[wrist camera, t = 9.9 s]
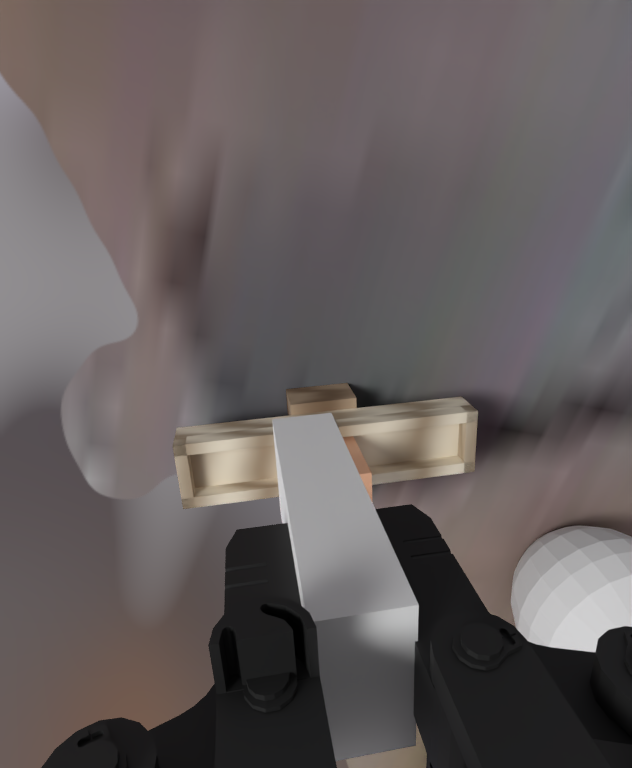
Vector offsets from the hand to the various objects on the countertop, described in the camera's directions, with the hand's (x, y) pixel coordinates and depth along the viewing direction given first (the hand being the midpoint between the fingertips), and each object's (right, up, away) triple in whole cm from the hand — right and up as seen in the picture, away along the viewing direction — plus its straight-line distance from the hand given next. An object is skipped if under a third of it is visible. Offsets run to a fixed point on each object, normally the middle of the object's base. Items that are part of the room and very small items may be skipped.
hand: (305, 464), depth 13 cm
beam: (+1, -2, +38) cm, 38 cm away
